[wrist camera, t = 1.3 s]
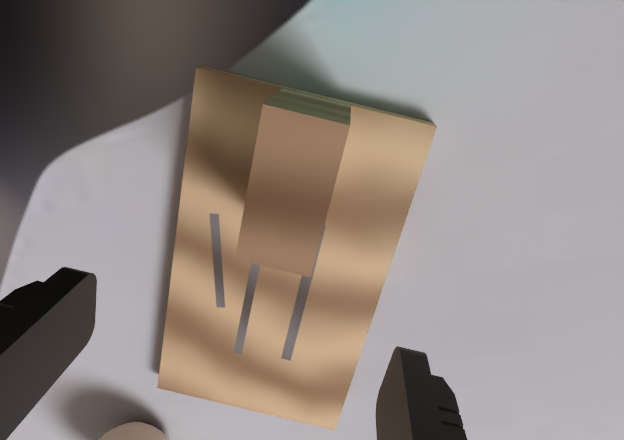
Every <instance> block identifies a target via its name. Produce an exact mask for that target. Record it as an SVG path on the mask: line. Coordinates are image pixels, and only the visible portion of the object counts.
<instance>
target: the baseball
mask: <svg viewBox="0 0 624 440" xmlns="http://www.w3.org/2000/svg"><path fill="white" fill-rule="evenodd" d="M98 440H169V439H168V438H167V436H166V435H165V434H164V433H163V432H162V431H160V430H159V429H157V428H156V427H154V426H152V425H149V424H145V423H141V422H130V423H125V424H122V425H119V426H117V427H115V428H113V429H111V430H109V431H108V432H106V433H105V434H104V435H102V436H101V437H100V438H99V439H98Z"/></svg>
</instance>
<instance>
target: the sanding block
mask: <svg viewBox="0 0 624 440" xmlns="http://www.w3.org/2000/svg"><path fill="white" fill-rule="evenodd" d="M350 120H351V105H347V104H343V103H339V102H335V101H331V100H327V99H323V98H319V97H315V96H311V95H307V94H302V93H298V92H294V91H290V90H286V89H281V90H280V91H279V92H277V93H276V94H275V95H274V96H272V97H271V98H270V99H269V100H267V101H266V102H265V103H264V104H263V106H262V112H261V117H260V123H259V128H258V134H257V139H256V145H255V150H254V156H253V161H252V167H251V172H250V178H249V183H248V189H247V194H246V200H245V205H244V211H243V216H242V222H241V227H240V233H239V238H238V244H237V249H236V255H235V259H236V260H240V261H244V262H248V263H252V264H256V265H260V266H265V267H269V268H273V269H277V270H281V271H285V272H289V273H293V274H298V275H302V276H306V277H310V278H311V275H312V271H313V267H314V263H315V259H316V255H317V251H318V248H319V244H320V240H321V236H322V232H323V228H324V225H325V221H326V217H327V213H328V209H329V205H330V202H331V198H332V194H333V190H334V186H335V182H336V178H337V175H338V171H339V167H340V163H341V159H342V155H343V152H344V148H345V144H346V140H347V136H348V132H349V129H350Z"/></svg>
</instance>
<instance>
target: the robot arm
mask: <svg viewBox="0 0 624 440" xmlns="http://www.w3.org/2000/svg"><path fill="white" fill-rule="evenodd" d="M96 285H97V280H96V276H95V274H93V273H88V272H84V271H80V270H76V269H72V268H67V267H63V268H61V269H59V270H58V271H57V272H56V273H55V274H53V275H52V276H51V277H50V278H48V279H47V280H46V281H45V282H40V281H35V282H33V283H30V284H28V285H25V286H23V287H20V288H18V289H15V290H14V291H12V292H11V293H10V294H9V295H7V296H6V297H5V298H3V299H2V300H1V301H0V440H6V439H7V438H8V437H9V436H10V434H11V433H12V432H13V431H14V430H15V429H16V427H17V426H18V425H19V424H20V423H21V421H22V420H23V419H24V418H25V417H26V416H27V414H28V413H29V412H30V411H31V410H32V409H33V407H34V406H35V405H36V404H37V403H38V401H39V400H40V399H41V398H42V397H43V396H44V394H45V393H46V392H47V391H48V390H49V389H50V387H51V386H52V385H53V384H54V383H55V381H56V380H57V379H58V378H59V377H60V376H61V374H62V373H63V372H64V371H65V370H66V368H67V367H68V366H69V365H70V364H71V363H72V361H73V360H74V359H75V358H76V357H77V356H78V354H79V353H80V352H81V351H82V350H83V348H84V347H85V346H86V345H87V343H88V341H89V340H90V338H91V335H92V333H93V330H94V325H95V310H96ZM376 429H377V440H467V437H466V434H465V430H464V429H463V423H462V419H461V416H460V415H459V409H458V405H457V401H456V398H455V394H454V393H453V391H452V390H451V389H450V387H449V386H448V384H447V383H446V382H445V380H444V379H443V377H438V376H434V375H431V372H430V368H429V363H428V359H427V355H426V354H425V353H423V352H419V351H415V350H410V349H406V348H402V347H396V348H395V350H394V352H393V354H392V357H391V360H390V363H389V365H388V368H387V371H386V374H385V376H384V379H383V382H382V385H381V387H380V390H379V394H378V398H377V404H376Z"/></svg>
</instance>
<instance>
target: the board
mask: <svg viewBox="0 0 624 440" xmlns="http://www.w3.org/2000/svg"><path fill="white" fill-rule="evenodd" d="M281 89H286V90H290V91H294V92H298V93H302V94H307V95H311V96H315V97H319V98H323V99H327V100H331V101H335V102H339V103H343V104H347V105H351V120H350V129H349V132H348V136H347V140H346V144H345V148H344V152H343V155H342V159H341V163H340V167H339V171H338V175H337V178H336V182H335V186H334V190H333V194H332V198H331V202H330V205H329V209H328V213H327V217H326V221H325V225H324V228H323V232H322V236H321V240H320V244H319V248H318V251H317V255H316V259H315V263H314V267H313V271H312V275H311V278H310V277H306V276H302V275H298V274H293V273H289V272H285V271H281V270H277V269H273V268H269V267H265V266H260V265H256V264H252V263H248V262H244V261H240V260H236V259H235V255H236V249H237V244H238V238H239V233H240V227H241V222H242V216H243V211H244V205H245V200H246V194H247V189H248V183H249V178H250V172H251V167H252V161H253V156H254V150H255V145H256V139H257V134H258V128H259V123H260V117H261V112H262V106H263V104H264V103H265V102H266V101H267V100H269V99H270V98H271V97H272V96H274V95H275V94H276V93H277V92H279V91H280V90H281ZM436 127H437V126H436V125H435V124H434V123H433V122H429V121H425V120H421V119H417V118H413V117H408V116H404V115H400V114H396V113H392V112H388V111H384V110H380V109H376V108H372V107H368V106H364V105H360V104H356V103H352V102H348V101H343V100H339V99H335V98H331V97H327V96H323V95H319V94H315V93H311V92H307V91H303V90H299V89H295V88H291V87H287V86H282V85H278V84H274V83H270V82H266V81H262V80H258V79H254V78H250V77H246V76H242V75H238V74H234V73H230V72H226V71H221V70H217V69H213V68H209V67H205V66H200V67H196V71H195V80H194V88H193V96H192V105H191V113H190V121H189V130H188V138H187V146H186V155H185V163H184V171H183V179H182V188H181V196H180V204H179V213H178V221H177V229H176V238H175V246H174V254H173V263H172V271H171V279H170V287H169V296H168V304H167V312H166V321H165V329H164V337H163V346H162V354H161V362H160V371H159V379H158V387H157V388H160V389H164V390H169V391H173V392H177V393H181V394H185V395H190V396H194V397H198V398H202V399H206V400H210V401H215V402H219V403H223V404H227V405H231V406H236V407H240V408H244V409H248V410H252V411H256V412H261V413H265V414H269V415H273V416H277V417H282V418H286V419H290V420H294V421H298V422H302V423H307V424H311V425H315V426H319V427H323V428H328V429H332V430H335V428H336V425H337V422H338V419H339V416H340V413H341V410H342V407H343V404H344V401H345V398H346V395H347V392H348V389H349V386H350V383H351V381H352V378H353V375H354V372H355V369H356V366H357V363H358V360H359V357H360V354H361V351H362V348H363V345H364V342H365V339H366V336H367V333H368V330H369V327H370V324H371V321H372V318H373V315H374V312H375V309H376V306H377V303H378V300H379V297H380V294H381V291H382V288H383V285H384V282H385V279H386V276H387V273H388V270H389V267H390V264H391V261H392V258H393V255H394V252H395V249H396V246H397V244H398V241H399V238H400V235H401V232H402V229H403V226H404V223H405V220H406V217H407V214H408V211H409V208H410V205H411V202H412V199H413V196H414V193H415V190H416V187H417V184H418V181H419V178H420V175H421V172H422V169H423V166H424V163H425V160H426V157H427V154H428V151H429V148H430V145H431V142H432V139H433V136H434V133H435V130H436Z"/></svg>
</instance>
